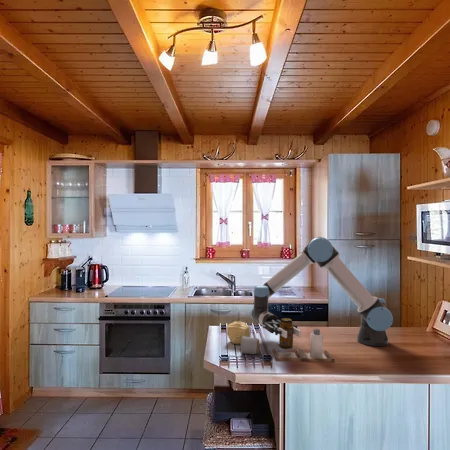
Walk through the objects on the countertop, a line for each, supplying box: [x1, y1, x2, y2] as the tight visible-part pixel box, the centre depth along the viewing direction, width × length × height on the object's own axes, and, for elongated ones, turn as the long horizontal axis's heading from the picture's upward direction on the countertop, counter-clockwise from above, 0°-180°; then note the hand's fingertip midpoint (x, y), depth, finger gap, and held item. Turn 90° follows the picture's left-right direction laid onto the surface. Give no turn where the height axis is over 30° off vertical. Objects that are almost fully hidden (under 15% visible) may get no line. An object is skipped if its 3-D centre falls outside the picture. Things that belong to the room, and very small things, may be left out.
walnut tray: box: [272, 348, 335, 363], centre depth 160 cm, size 25×12×2 cm, turn 90°
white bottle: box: [309, 328, 324, 358], centre depth 160 cm, size 6×6×12 cm
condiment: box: [275, 317, 298, 351], centre depth 160 cm, size 7×8×12 cm
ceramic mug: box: [240, 336, 261, 355], centre depth 168 cm, size 11×8×8 cm
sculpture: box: [226, 321, 252, 346], centre depth 182 cm, size 12×12×11 cm
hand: (293, 334), depth 155 cm, fingers closed on condiment, 6 cm apart
